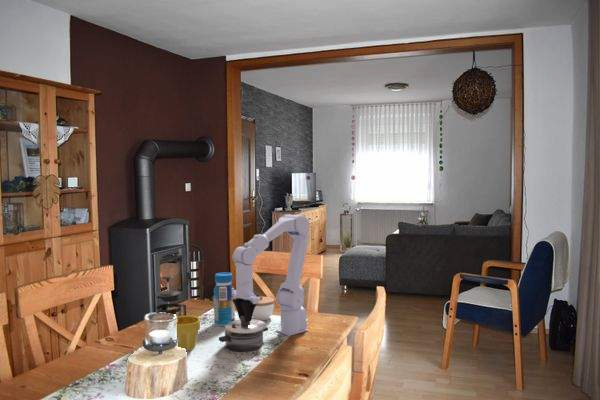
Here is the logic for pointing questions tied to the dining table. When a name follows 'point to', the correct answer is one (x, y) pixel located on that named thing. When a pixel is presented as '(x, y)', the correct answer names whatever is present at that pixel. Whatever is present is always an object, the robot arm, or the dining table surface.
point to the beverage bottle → (223, 299)
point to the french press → (170, 300)
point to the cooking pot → (243, 341)
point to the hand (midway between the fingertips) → (245, 320)
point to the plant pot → (187, 331)
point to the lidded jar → (263, 308)
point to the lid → (245, 326)
